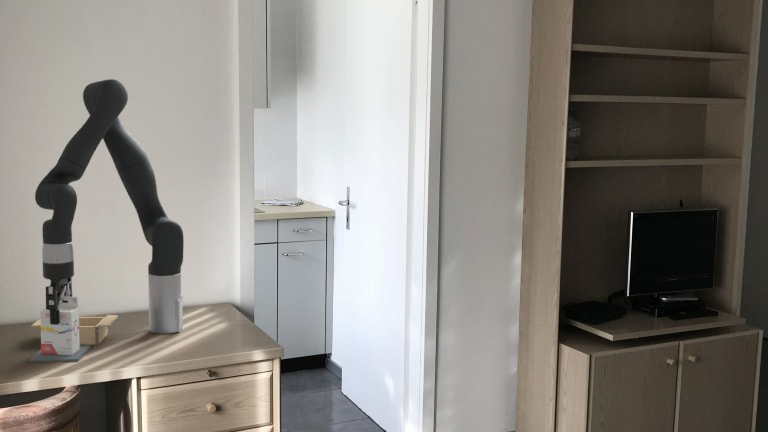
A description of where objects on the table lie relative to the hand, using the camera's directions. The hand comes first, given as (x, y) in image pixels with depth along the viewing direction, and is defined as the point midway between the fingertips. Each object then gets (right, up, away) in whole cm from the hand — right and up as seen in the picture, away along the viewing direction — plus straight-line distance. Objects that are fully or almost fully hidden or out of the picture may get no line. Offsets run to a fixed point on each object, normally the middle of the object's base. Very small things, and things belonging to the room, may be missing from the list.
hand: (60, 319), depth 207 cm
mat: (0, -9, +1) cm, 9 cm away
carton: (-2, -7, +15) cm, 17 cm away
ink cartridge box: (0, -9, +1) cm, 9 cm away
